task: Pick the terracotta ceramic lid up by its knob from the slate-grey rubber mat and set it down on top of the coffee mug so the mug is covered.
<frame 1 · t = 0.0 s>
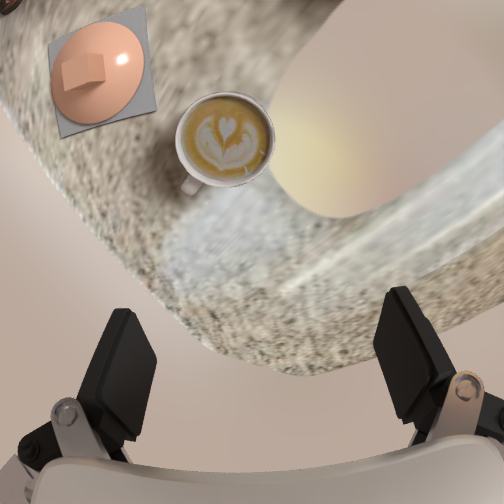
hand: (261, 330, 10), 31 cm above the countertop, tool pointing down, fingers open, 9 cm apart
lid: (95, 71, 29), point 1 cm above the countertop, touching mat
mat: (97, 71, 30), on the countertop
coffee mug: (220, 136, 36), on the countertop
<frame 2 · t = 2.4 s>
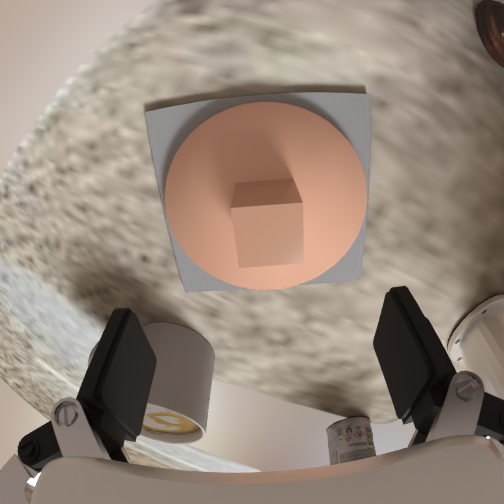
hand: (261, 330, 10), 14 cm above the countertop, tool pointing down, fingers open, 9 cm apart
lid: (266, 202, 22), point 1 cm above the countertop, touching mat
mortar and pestle: (490, 37, 13), on the countertop
mat: (266, 199, 22), on the countertop
spray can: (346, 424, 43), on the countertop
coffee mug: (162, 342, 31), on the countertop
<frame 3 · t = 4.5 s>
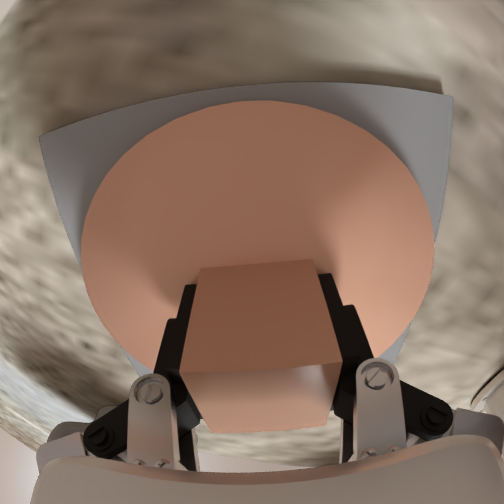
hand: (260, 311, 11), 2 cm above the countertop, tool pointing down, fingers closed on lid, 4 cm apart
lid: (259, 289, 12), point 1 cm above the countertop, touching gripper, mat
mat: (259, 280, 13), on the countertop
coffee mug: (131, 421, 22), on the countertop
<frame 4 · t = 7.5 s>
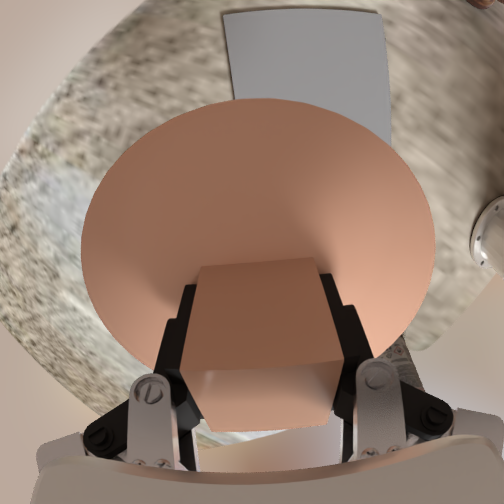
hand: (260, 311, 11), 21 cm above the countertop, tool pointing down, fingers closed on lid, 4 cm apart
lid: (260, 288, 12), point 20 cm above the countertop, touching gripper
mat: (314, 80, 25), on the countertop
spray can: (382, 348, 46), on the countertop
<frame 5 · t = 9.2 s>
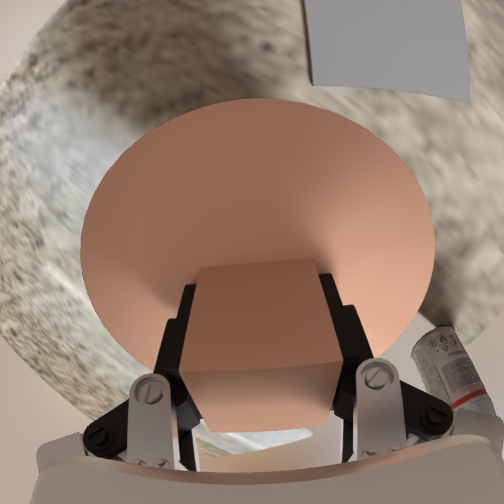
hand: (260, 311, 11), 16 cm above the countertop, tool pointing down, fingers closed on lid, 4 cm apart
lid: (259, 288, 12), point 14 cm above the countertop, touching gripper
mat: (393, 9, 15), on the countertop
spray can: (431, 341, 37), on the countertop
when the fingers open (13 cm above the countertop, at t = 10.4 s): lid drops 1 cm, resting on coffee mug.
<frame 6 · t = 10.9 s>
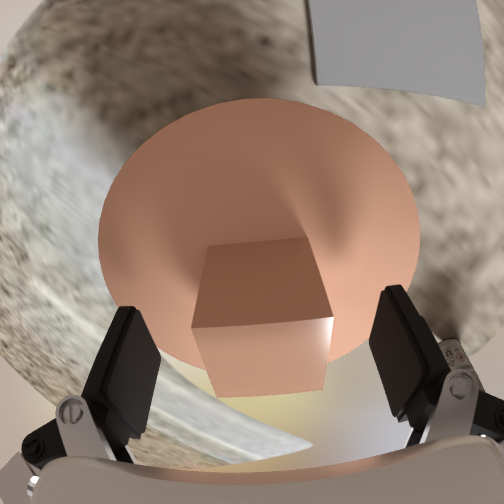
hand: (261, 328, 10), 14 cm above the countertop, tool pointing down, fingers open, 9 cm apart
lid: (261, 268, 14), point 10 cm above the countertop, touching coffee mug
mat: (405, 2, 13), on the countertop
spray can: (436, 354, 35), on the countertop
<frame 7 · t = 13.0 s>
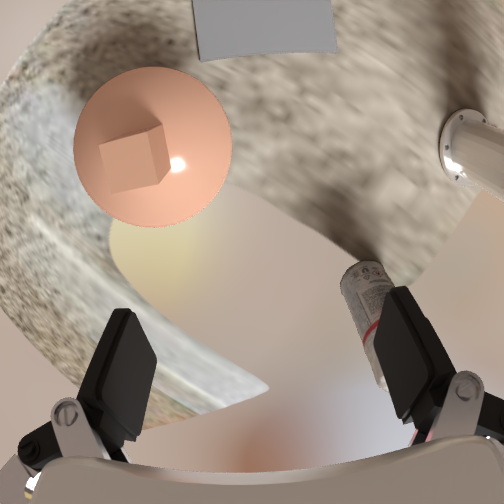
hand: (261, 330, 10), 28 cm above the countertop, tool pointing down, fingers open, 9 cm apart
lid: (148, 148, 24), point 10 cm above the countertop, touching coffee mug
spray can: (361, 278, 45), on the countertop
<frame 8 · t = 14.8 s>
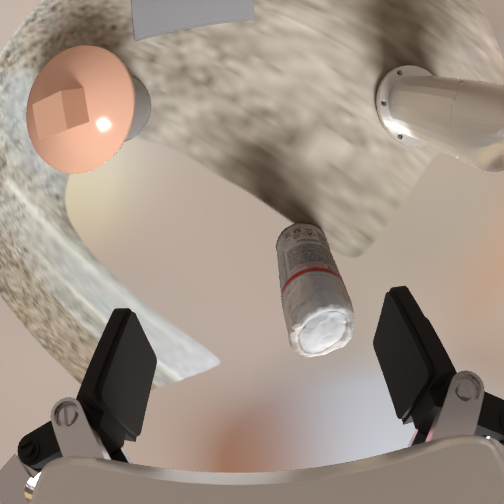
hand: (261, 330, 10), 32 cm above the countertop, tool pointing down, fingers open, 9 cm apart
lid: (76, 109, 25), point 10 cm above the countertop, touching coffee mug
spray can: (299, 243, 46), on the countertop
coffee mug: (112, 101, 33), on the countertop, touching lid
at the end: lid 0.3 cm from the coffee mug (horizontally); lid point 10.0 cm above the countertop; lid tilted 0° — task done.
